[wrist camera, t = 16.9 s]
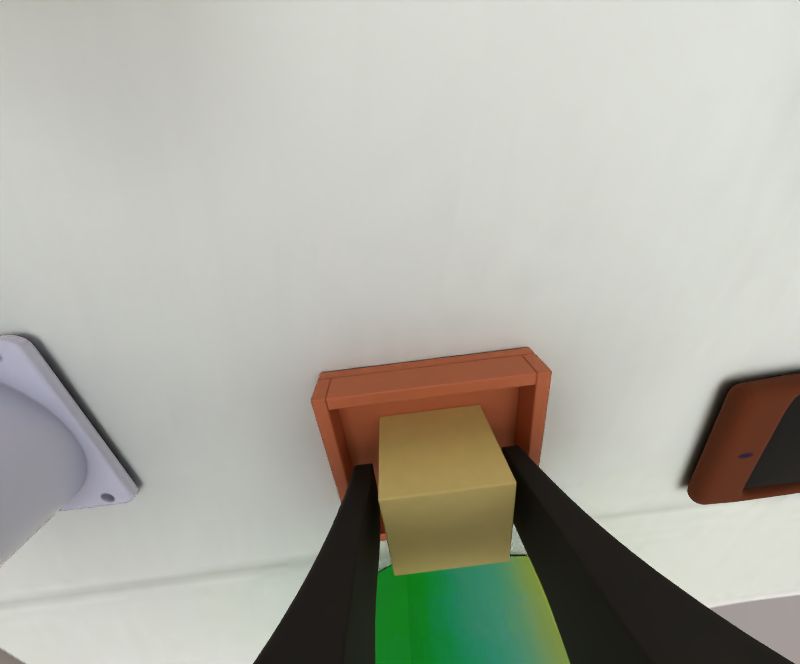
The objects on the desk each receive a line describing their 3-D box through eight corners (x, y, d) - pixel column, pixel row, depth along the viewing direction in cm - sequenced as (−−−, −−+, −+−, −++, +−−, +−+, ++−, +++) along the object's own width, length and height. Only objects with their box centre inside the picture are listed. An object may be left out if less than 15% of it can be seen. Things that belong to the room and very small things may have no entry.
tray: (356, 507, 14) (353, 544, 13) (319, 372, 11) (309, 400, 9) (516, 487, 14) (531, 522, 13) (528, 346, 11) (552, 370, 9)
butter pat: (391, 485, 13) (394, 576, 10) (379, 416, 11) (377, 500, 8) (479, 474, 13) (510, 562, 10) (479, 403, 11) (517, 483, 8)
